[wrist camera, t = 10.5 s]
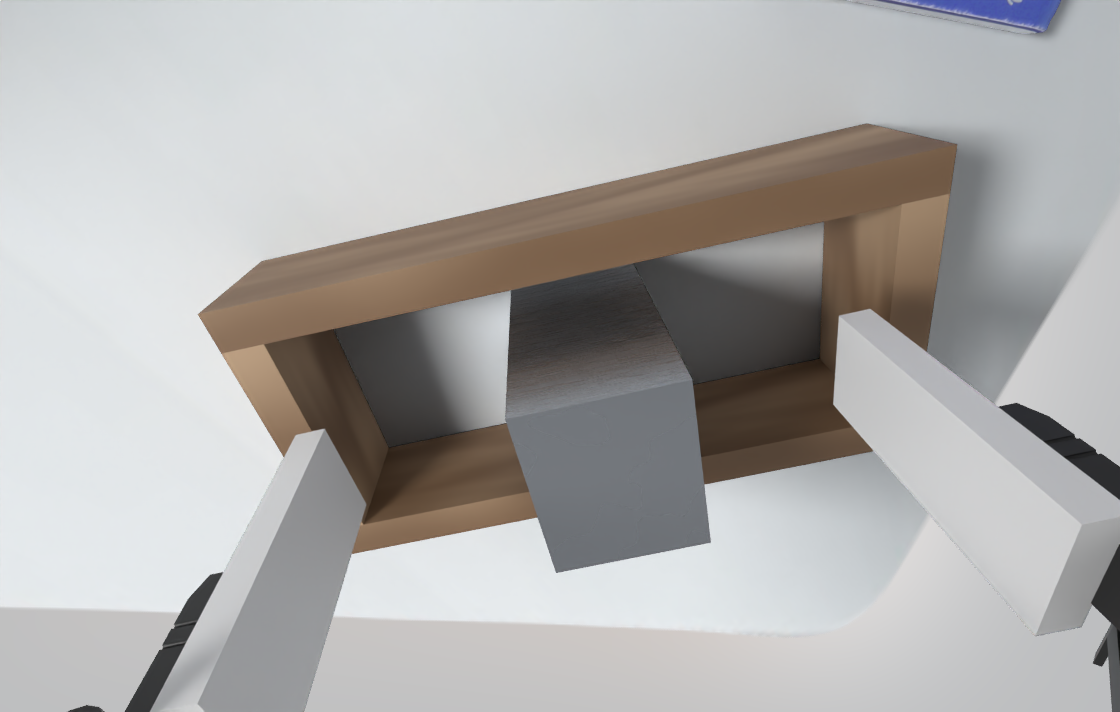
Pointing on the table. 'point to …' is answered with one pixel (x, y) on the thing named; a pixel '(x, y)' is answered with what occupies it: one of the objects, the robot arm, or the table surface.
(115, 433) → the table surface
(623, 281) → the gray concrete brick
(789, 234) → the table surface
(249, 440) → the table surface
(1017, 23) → the hard drive
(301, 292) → the rectangular wooden frame
